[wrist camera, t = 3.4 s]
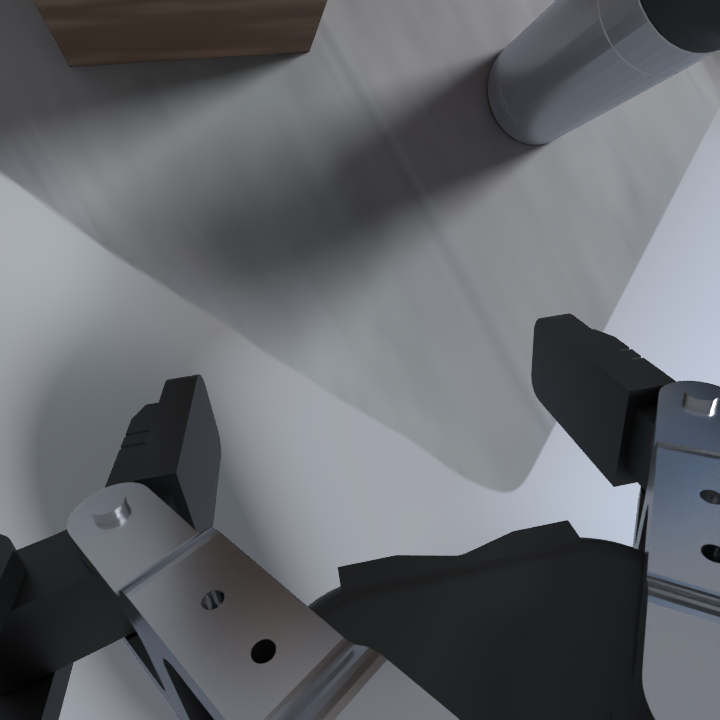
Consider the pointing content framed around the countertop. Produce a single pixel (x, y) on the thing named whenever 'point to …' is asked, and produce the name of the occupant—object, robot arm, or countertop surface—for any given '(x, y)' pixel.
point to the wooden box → (178, 28)
